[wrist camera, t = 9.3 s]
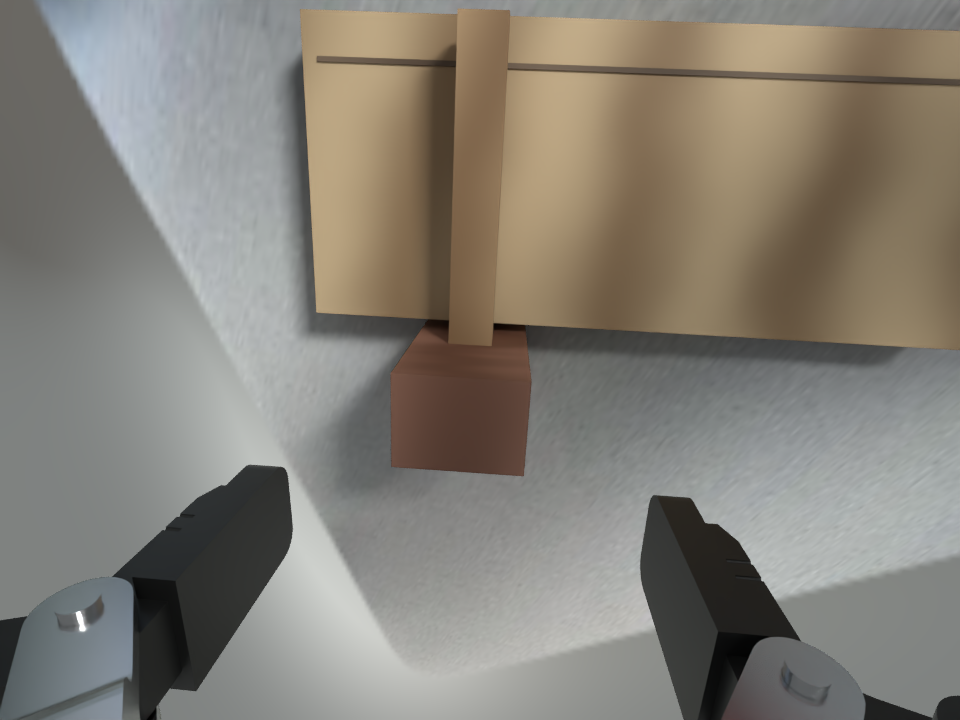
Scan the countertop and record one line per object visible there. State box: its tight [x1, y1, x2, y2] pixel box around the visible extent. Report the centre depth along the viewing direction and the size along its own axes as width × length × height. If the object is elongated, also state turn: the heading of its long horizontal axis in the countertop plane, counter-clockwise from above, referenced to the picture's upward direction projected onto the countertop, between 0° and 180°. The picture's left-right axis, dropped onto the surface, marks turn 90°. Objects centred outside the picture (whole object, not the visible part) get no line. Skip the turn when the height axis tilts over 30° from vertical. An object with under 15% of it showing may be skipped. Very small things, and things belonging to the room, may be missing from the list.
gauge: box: [391, 9, 531, 476], centre depth 17 cm, size 4×14×7 cm, turn 177°
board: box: [300, 9, 960, 350], centre depth 18 cm, size 24×10×2 cm, turn 87°
